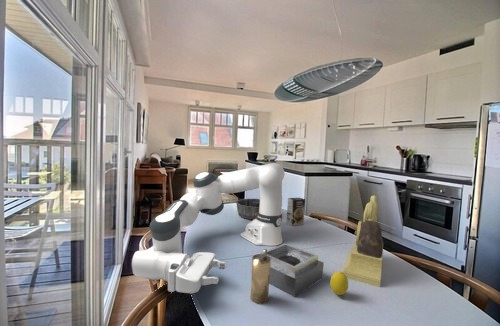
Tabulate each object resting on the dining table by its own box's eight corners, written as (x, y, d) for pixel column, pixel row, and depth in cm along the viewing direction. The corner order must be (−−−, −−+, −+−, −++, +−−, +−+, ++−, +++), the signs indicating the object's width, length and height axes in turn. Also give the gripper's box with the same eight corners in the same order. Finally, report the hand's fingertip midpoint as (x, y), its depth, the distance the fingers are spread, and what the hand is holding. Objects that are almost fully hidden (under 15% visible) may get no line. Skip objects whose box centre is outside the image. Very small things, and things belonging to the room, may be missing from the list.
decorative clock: (351, 251, 122) (356, 189, 120) (381, 258, 116) (387, 192, 114) (341, 277, 97) (348, 198, 95) (379, 287, 91) (387, 203, 89)
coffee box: (292, 226, 156) (293, 200, 155) (285, 223, 162) (287, 197, 160) (304, 224, 160) (305, 199, 159) (297, 221, 166) (299, 197, 165)
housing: (253, 275, 95) (254, 252, 94) (283, 261, 108) (284, 241, 107) (294, 297, 82) (296, 271, 82) (322, 278, 95) (324, 255, 95)
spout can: (246, 297, 81) (249, 248, 80) (258, 291, 85) (261, 243, 84) (259, 306, 77) (262, 254, 76) (271, 298, 81) (274, 249, 80)
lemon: (326, 290, 87) (328, 267, 87) (342, 290, 88) (344, 267, 87) (333, 300, 82) (335, 275, 81) (350, 300, 82) (352, 276, 82)
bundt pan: (226, 215, 173) (227, 200, 172) (255, 210, 191) (255, 196, 190) (254, 225, 154) (254, 209, 153) (282, 218, 172) (283, 203, 171)
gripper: (191, 262, 94) (228, 267, 92) (165, 294, 74) (212, 300, 72) (191, 246, 94) (229, 249, 92) (166, 273, 73) (213, 279, 72)
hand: (222, 272), depth 82 cm, fingers open, 8 cm apart
